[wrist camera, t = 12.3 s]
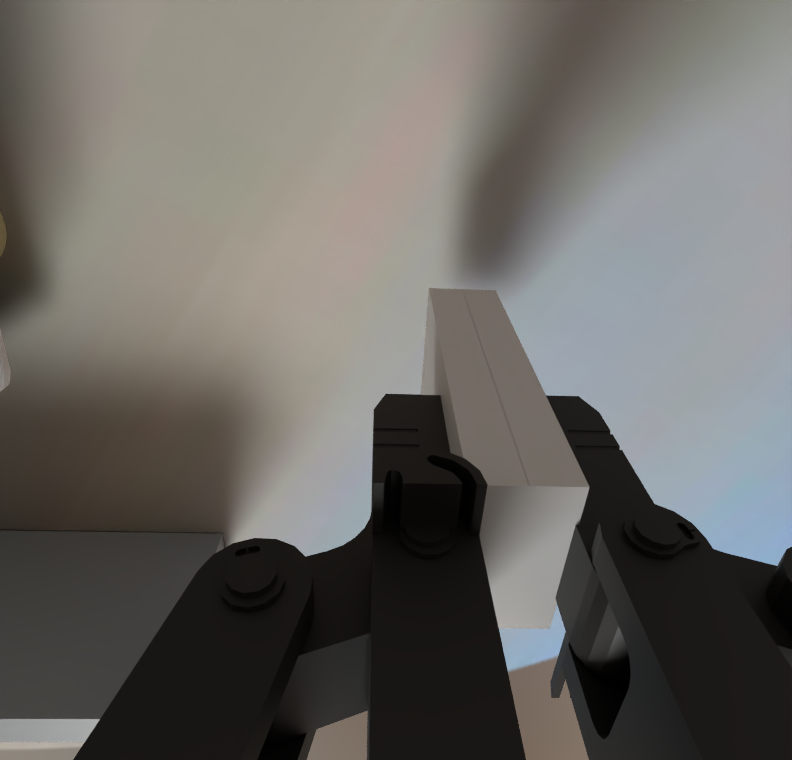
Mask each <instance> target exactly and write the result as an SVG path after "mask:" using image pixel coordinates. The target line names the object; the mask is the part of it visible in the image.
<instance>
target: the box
mask: <svg viewBox="0 0 792 760" xmlns="http://www.w3.org/2000/svg"><path fill="white" fill-rule="evenodd" d="M222 549H224V541H223V535H222V534H216V533H146V532H77V531H7V530H0V742H85V741H86V740H87V738H88V737H89V735H90V734H91V732H92V731H93V729H94V728H95V726H96V724H97V723H98V721H99V720H100V718H101V717H102V715H103V714H104V712H105V711H106V709H107V708H108V706H109V705H110V703H111V702H112V700H113V699H114V697H115V696H116V694H117V693H118V691H119V690H120V688H121V687H122V685H123V683H124V682H125V680H126V679H127V677H128V676H129V674H130V673H131V671H132V670H133V668H134V667H135V665H136V664H137V662H138V661H139V659H140V658H141V656H142V655H143V653H144V652H145V650H146V649H147V647H148V645H149V644H150V642H151V641H152V639H153V638H154V636H155V635H156V633H157V632H158V630H159V629H160V627H161V626H162V624H163V623H164V621H165V620H166V618H167V617H168V615H169V614H170V612H171V611H172V609H173V608H174V606H175V604H176V603H177V601H178V600H179V598H180V597H181V595H182V594H183V592H184V591H185V589H186V588H187V586H188V585H189V583H190V582H191V580H192V579H193V577H194V576H195V574H196V573H197V571H198V570H199V569H200V568H201V567H202V566H203V565H204V564H205V562H206V561H207V560H208V559H209V558H210V557H211V556H212V555H213V554H215V553H217V552H219V551H220V550H222Z"/></svg>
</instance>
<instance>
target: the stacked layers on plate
mask: <svg viewBox="0 0 792 760" xmlns="http://www.w3.org/2000/svg"><path fill="white" fill-rule="evenodd" d="M6 240H7V233H6V226H5V222H4V219H3V217H2V214H1V212H0V257H1V255H2V254H3V252H4V249H5V246H6ZM10 374H11V370H10V366H9V362H8V358H7V353H6V349H5V345H4V341H3V337H2V333H1V329H0V391H2V390H3V389H4V388H5V387H6V386H8V385H9V383H10Z"/></svg>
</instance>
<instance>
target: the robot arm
mask: <svg viewBox="0 0 792 760" xmlns="http://www.w3.org/2000/svg"><path fill="white" fill-rule="evenodd" d="M619 447H620V446H619V445H618V443H617V441H616V440H615V438H614V436H613V435H610V430H609V428H608V426H607V425H606V423H605V421H604V420H603V418H602V416H601V415H600V413H599V412H598V411H597V410H595V409H594V408H593V407H591V406H590V405H589V404H588V403H586V402H585V401H584V400H582V399H581V398H580V397H579V396H546V395H545V393H544V391H543V389H542V387H541V384H540V382H539V380H538V378H537V376H536V374H535V372H534V370H533V368H532V366H531V363H530V361H529V359H528V357H527V355H526V353H525V351H524V349H523V347H522V345H521V343H520V340H519V338H518V336H517V334H516V332H515V330H514V328H513V326H512V324H511V322H510V320H509V317H508V315H507V313H506V311H505V309H504V307H503V305H502V303H501V301H500V299H499V297H498V294H497V292H496V290H468V289H436V288H429V292H428V306H427V319H426V332H425V345H424V358H423V372H422V385H421V395H410V394H385V396H384V397H383V398H382V400H381V401H380V402H379V403H378V405H377V406H376V407H375V409H374V426H373V463H372V511H371V517H370V519H369V521H368V523H367V525H366V526H365V528H364V529H363V530H362V531H361V532H360V533H359V534H358V535H357V536H356V537H355V538H354V539H352V540H351V541H349V542H347V543H346V544H344V545H343V546H340V547H337V548H335V549H332V550H329V551H326V552H322V553H318V554H314V555H311V556H307V557H305V556H304V555H303V554H302V553H301V552H300V551H299V550H298V549H297V548H296V547H295V546H293V545H290V544H287V543H285V542H282V541H280V540H277V539H261V538H253V539H249V540H245V541H241V542H237V543H233V544H231V545H229V546H227V547H226V548H224V549H222V550H220V551H219V552H217V553H215V554H213V555H212V556H211V557H210V558H209V559H208V560H207V561H206V562H205V564H204V565H203V566H202V567H201V568H200V569H199V570H198V571H197V573H196V574H195V576H194V577H193V579H192V580H191V582H190V583H189V585H188V586H187V588H186V589H185V591H184V592H183V594H182V595H181V597H180V598H179V600H178V601H177V603H176V604H175V606H174V608H173V609H172V611H171V612H170V614H169V615H168V617H167V618H166V620H165V621H164V623H163V624H162V626H161V627H160V629H159V630H158V632H157V633H156V635H155V636H154V638H153V639H152V641H151V642H150V644H149V645H148V647H147V649H146V650H145V652H144V653H143V655H142V656H141V658H140V659H139V661H138V662H137V664H136V665H135V667H134V668H133V670H132V671H131V673H130V674H129V676H128V677H127V679H126V680H125V682H124V683H123V685H122V687H121V688H120V690H119V691H118V693H117V694H116V696H115V697H114V699H113V700H112V702H111V703H110V705H109V706H108V708H107V709H106V711H105V712H104V714H103V715H102V717H101V718H100V720H99V721H98V723H97V724H96V726H95V728H94V729H93V731H92V732H91V734H90V735H89V737H88V738H87V740H86V741H85V743H84V744H83V746H82V747H81V749H80V750H79V752H78V753H77V755H76V756H75V758H74V760H306V759H307V756H308V753H309V750H310V747H311V744H312V741H313V738H314V735H315V732H316V729H318V728H321V727H323V726H326V725H329V724H331V723H334V722H337V721H340V720H343V719H345V718H348V717H351V716H354V715H356V714H359V713H362V712H364V711H367V710H368V723H367V760H526V759H525V753H524V749H523V744H522V739H521V734H520V729H519V724H518V720H517V715H516V710H515V706H514V700H513V695H512V691H511V686H510V681H509V676H508V671H507V667H506V662H505V657H504V652H503V647H502V642H501V638H500V633H499V628H534V629H550V626H551V622H552V619H553V615H554V612H555V608H556V605H558V608H559V611H560V614H561V617H562V620H563V624H564V627H565V630H566V633H565V636H564V640H563V643H562V646H561V649H560V653H559V656H558V659H557V663H556V666H555V669H554V672H553V676H552V679H551V697H552V698H559V697H560V694H561V691H562V688H563V685H564V682H565V679H566V682H567V686H568V689H569V692H570V698H571V699H572V702H573V706H574V709H575V713H576V716H577V720H578V723H579V726H580V730H581V734H582V737H583V740H584V744H585V747H586V751H587V754H588V757H589V760H792V547H790V548H788V549H787V550H786V552H785V553H784V555H783V557H782V559H781V561H780V562H779V564H778V566H775V565H771V564H767V563H763V562H759V561H755V560H751V559H747V558H743V557H739V556H735V555H731V554H727V553H723V552H720V551H717V550H714V549H713V548H712V547H711V545H710V544H709V542H708V541H707V539H706V538H705V537H704V536H703V535H702V533H701V532H700V531H699V530H698V529H697V528H696V527H695V526H694V525H693V524H692V523H691V522H689V521H688V520H686V519H685V518H683V517H682V516H680V515H678V514H677V513H675V512H674V511H671V510H668V509H666V508H663V507H661V506H658V505H655V504H654V503H653V501H652V499H651V498H650V496H649V494H648V493H647V491H646V489H645V488H644V486H643V484H642V483H641V481H640V479H639V478H638V476H637V474H636V473H635V471H634V469H633V468H632V466H631V464H630V463H629V461H628V459H627V458H626V456H625V455H624V453H623V451H622V450H619Z"/></svg>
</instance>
